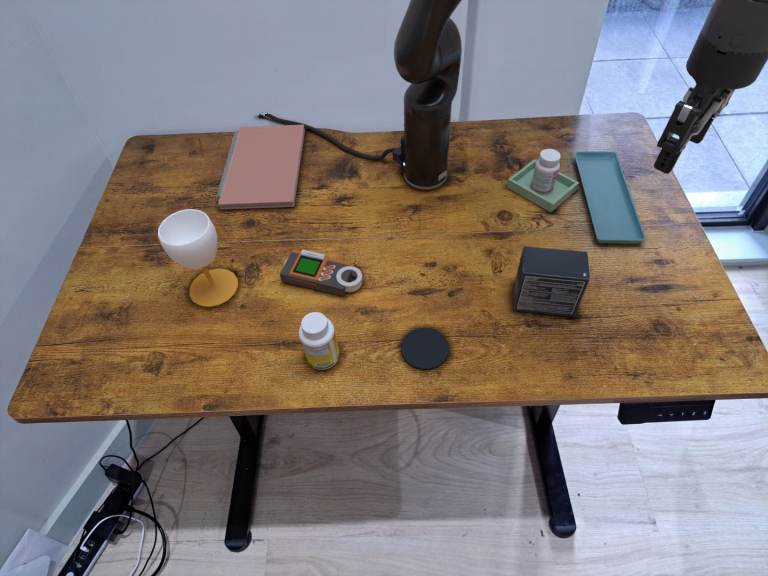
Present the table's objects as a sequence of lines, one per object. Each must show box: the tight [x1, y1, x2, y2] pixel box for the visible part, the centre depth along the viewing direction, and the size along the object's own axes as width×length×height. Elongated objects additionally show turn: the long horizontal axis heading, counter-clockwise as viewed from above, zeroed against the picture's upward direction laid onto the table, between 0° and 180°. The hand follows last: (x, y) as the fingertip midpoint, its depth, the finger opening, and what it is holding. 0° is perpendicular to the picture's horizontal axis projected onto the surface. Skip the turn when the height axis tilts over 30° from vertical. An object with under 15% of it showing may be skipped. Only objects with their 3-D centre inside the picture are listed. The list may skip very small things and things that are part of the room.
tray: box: [506, 158, 580, 213], centre depth 107 cm, size 11×9×2 cm
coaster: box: [400, 326, 450, 371], centre depth 85 cm, size 8×8×1 cm
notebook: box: [215, 124, 306, 210], centre depth 115 cm, size 27×17×2 cm, turn 1°
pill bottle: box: [531, 148, 562, 194], centre depth 104 cm, size 5×5×8 cm
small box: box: [512, 245, 591, 318], centre depth 86 cm, size 11×6×10 cm, turn 80°
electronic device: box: [279, 248, 363, 297], centre depth 94 cm, size 7×3×15 cm
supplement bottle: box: [298, 311, 340, 371], centre depth 81 cm, size 6×6×10 cm
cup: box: [157, 208, 239, 308], centre depth 89 cm, size 9×9×16 cm
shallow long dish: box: [573, 150, 647, 245], centre depth 104 cm, size 26×9×2 cm, turn 177°
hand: (677, 154), depth 68 cm, fingers open, 8 cm apart
